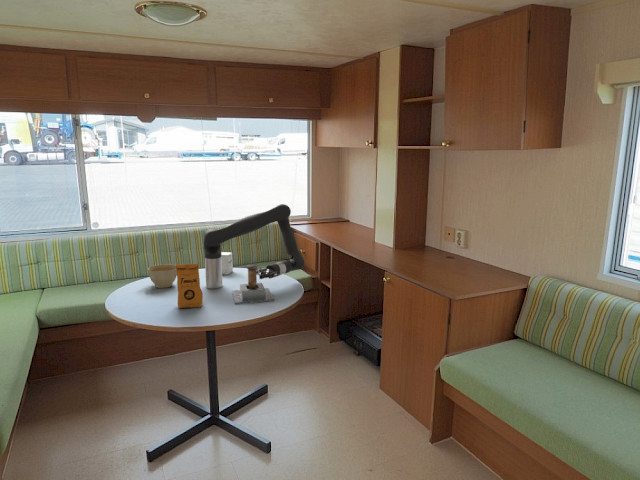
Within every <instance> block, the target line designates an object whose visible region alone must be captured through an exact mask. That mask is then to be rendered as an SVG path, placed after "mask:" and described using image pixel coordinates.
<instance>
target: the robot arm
mask: <svg viewBox="0 0 640 480" xmlns="http://www.w3.org/2000/svg"><path fill="white" fill-rule="evenodd" d="M291 213H292V211H291V208H290V206H288V205H287V204H285V203H281V204H279V205H277V206H275V207H273V208H270V209H269V210H266V211H262V212H258V213H253V214H251V215H247V216H245V217H242V218H239V219H237V220H235V221H233V222H232V223H231V224H230V225H227V226H225V227H222V228H219V229H215V228H208V229H206V230H205V231H204V233H203V249H204V266H205V270H204V272H205V288H206V289H220V288H222V287H223V282H224V281H223V274H222V256H221V253H222V246H221V244H224V243H225V242H227V241H229V240H232V239H235V238H239V237H241V236H244V235H247V234H250V233H253V232H255V231H258V230H260V229H262V228H264V227H265V226H267V225H270V224H272V223H277V225H278V226H279V229H280V233H281V236H282V240H283V244H284V247H285V251H286V254H287V255H288V256H292V258H290V259H287V260H282V261H278V262H274V263H270V264H268V265H266V268H265V267H264V268H262V267H257V269H256V276H258V277H259V280H263V279H273V278H276V277H279V276H280V277H281V276H282V275H285V274H288V273H290V272H294V271H299V270H303V269H304V268H305V265H306V263H305V258H304V257H303V255H302V253H301V251H300V250H299V247H298V243H297V240H296V237H295V234H294V233H293V230H292V227H291V225H290V219H289V218H290V216H291Z"/></svg>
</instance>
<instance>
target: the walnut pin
mask: <svg viewBox="0 0 640 480" xmlns="http://www.w3.org/2000/svg"><path fill="white" fill-rule="evenodd" d="M257 268H258V265H257V264H253V263H252V264H247V265H246V269H247V284H248V289H254V288H257V283H258V282H257V276H258V275H256V269H257Z"/></svg>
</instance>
